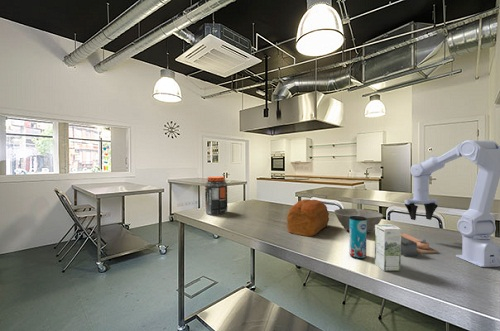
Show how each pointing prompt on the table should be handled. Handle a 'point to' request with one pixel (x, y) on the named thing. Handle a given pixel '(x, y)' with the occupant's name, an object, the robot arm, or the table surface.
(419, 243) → the link
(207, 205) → the supplement tub
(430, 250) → the pintle plate
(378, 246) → the milk carton
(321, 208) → the bread
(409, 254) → the panel
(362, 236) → the beverage can
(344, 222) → the ceramic bowl
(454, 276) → the table surface
